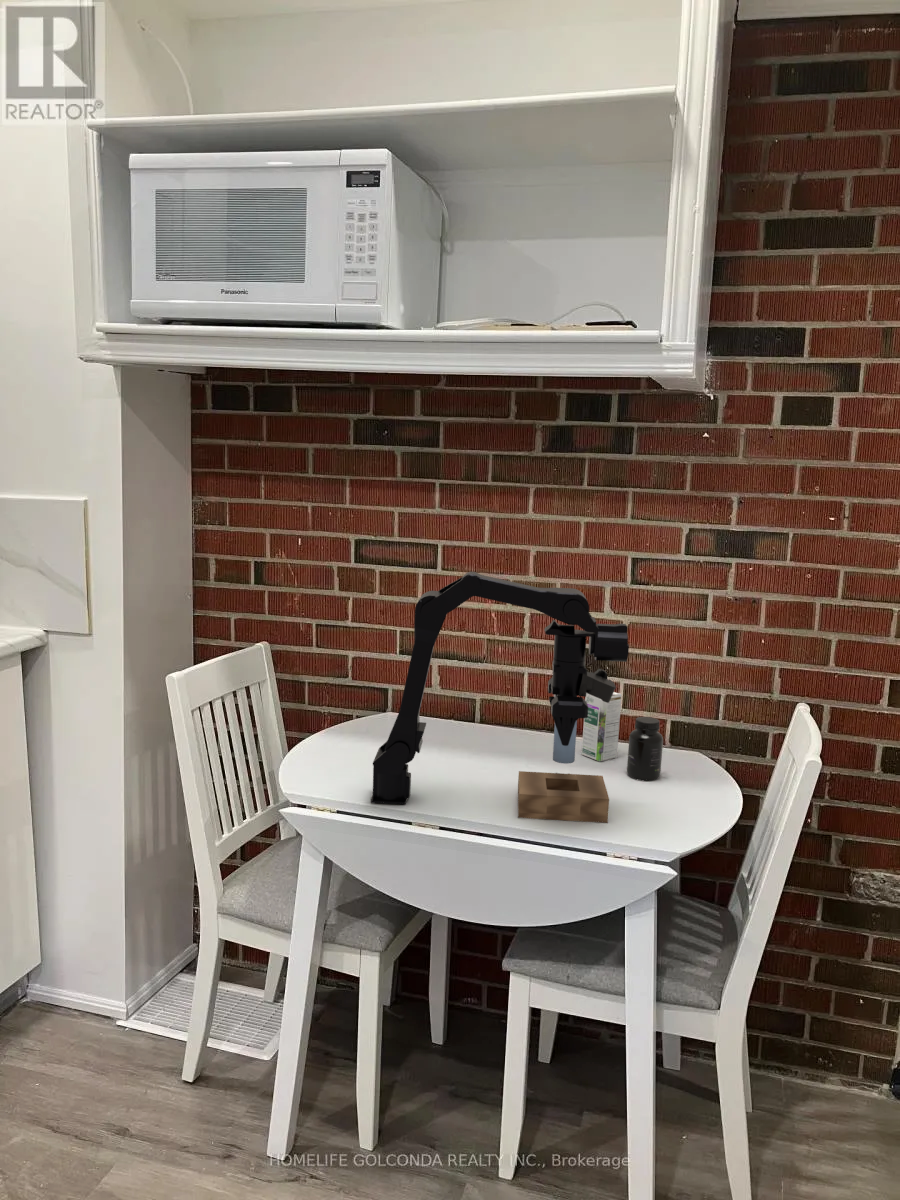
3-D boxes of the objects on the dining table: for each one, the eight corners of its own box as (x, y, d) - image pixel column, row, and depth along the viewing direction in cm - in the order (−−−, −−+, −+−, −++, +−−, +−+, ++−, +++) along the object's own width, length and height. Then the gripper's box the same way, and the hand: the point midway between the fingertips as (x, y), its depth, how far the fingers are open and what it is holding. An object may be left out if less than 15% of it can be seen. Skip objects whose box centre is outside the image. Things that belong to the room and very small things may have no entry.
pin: (553, 762, 173) (556, 709, 172) (552, 755, 177) (555, 704, 176) (575, 764, 173) (578, 711, 171) (573, 756, 177) (576, 705, 175)
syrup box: (580, 754, 207) (584, 690, 205) (599, 750, 211) (603, 686, 208) (599, 762, 203) (603, 696, 200) (618, 757, 206) (622, 692, 204)
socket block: (518, 817, 171) (519, 794, 170) (517, 793, 183) (518, 771, 182) (607, 822, 170) (609, 798, 170) (601, 798, 182) (602, 775, 181)
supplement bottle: (619, 774, 195) (623, 718, 193) (638, 767, 200) (642, 712, 198) (648, 784, 191) (652, 726, 189) (666, 776, 195) (671, 720, 193)
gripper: (620, 673, 162) (614, 760, 165) (608, 649, 181) (603, 728, 183) (554, 670, 163) (549, 757, 165) (549, 647, 181) (545, 725, 184)
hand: (564, 741), depth 174 cm, fingers closed on pin, 4 cm apart
